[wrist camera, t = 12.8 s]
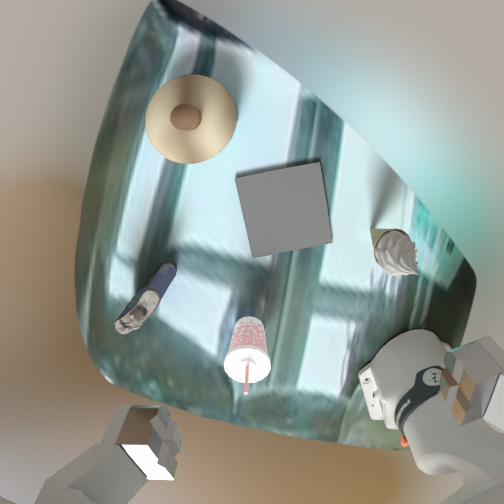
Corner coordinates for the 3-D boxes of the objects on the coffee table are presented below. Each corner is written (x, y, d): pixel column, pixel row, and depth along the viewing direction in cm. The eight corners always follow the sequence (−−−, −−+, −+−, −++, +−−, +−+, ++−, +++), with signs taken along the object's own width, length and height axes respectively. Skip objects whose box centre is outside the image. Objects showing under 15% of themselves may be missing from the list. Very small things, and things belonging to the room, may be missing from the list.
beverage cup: (223, 317, 48) (212, 380, 34) (262, 307, 47) (263, 369, 34) (236, 348, 50) (230, 413, 36) (273, 339, 49) (277, 404, 36)
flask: (168, 258, 44) (144, 292, 34) (183, 272, 45) (163, 310, 35) (131, 296, 47) (104, 334, 37) (145, 308, 47) (122, 349, 37)
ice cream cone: (356, 250, 44) (396, 301, 29) (352, 215, 42) (395, 255, 28) (388, 243, 43) (438, 289, 29) (385, 209, 41) (439, 244, 27)
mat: (331, 241, 43) (332, 242, 43) (252, 256, 44) (252, 258, 44) (318, 161, 39) (319, 162, 39) (235, 177, 40) (234, 178, 40)
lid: (225, 66, 31) (221, 57, 28) (245, 151, 35) (244, 152, 31) (140, 91, 32) (127, 87, 29) (159, 173, 36) (148, 177, 32)
